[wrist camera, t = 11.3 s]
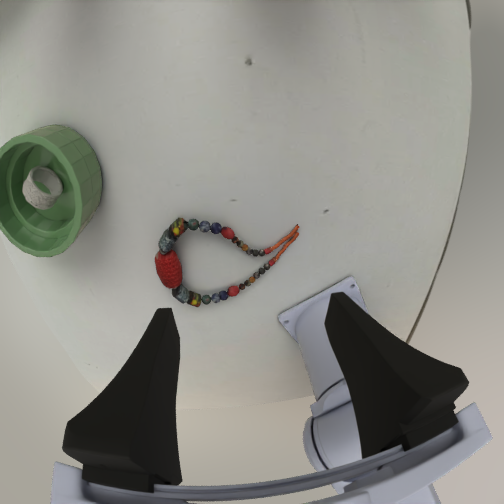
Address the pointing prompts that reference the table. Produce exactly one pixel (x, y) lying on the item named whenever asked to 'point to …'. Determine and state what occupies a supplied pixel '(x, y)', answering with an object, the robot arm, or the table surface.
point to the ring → (37, 195)
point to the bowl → (67, 205)
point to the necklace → (171, 265)
